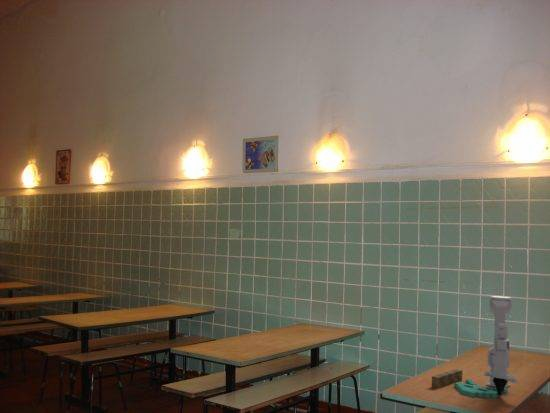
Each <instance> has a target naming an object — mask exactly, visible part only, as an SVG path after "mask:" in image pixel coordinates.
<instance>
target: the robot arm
mask: <svg viewBox="0 0 550 413" xmlns="http://www.w3.org/2000/svg"><path fill="white" fill-rule="evenodd" d="M511 311H512V297H511V296H501V295H499V296H498V295H490V296H489V312H491V313H492V314H493V316H494V331H493V332H494V334H493V335H494V336H493V337H494V338H493V346H492V347H490V348H489V349H488V351H487V365H488V366H489V371H488V370H486V371H483V372H484V373H483V374H484V375H483V376H484V377H489V382H487V383H486V384H485V385H486V386H489V387H492V388H496V389H497V394H498V395H499V397H501V396H503V394H504V393H503V390H504V388H507V387H510V386H511V384H510V383H509V382H511V383H514V384H517V383H518V378H517V377H513V376H511V375H510V374H509V370H508V368H509V367H510V353H509V352H510V339H509V331H508V330H509V328H508V326H507V325H506V315H507V314H509V313H510V312H511Z"/></svg>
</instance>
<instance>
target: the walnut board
mask: <svg viewBox="0 0 550 413" xmlns="http://www.w3.org/2000/svg"><path fill="white" fill-rule="evenodd" d="M461 381H463V369H460V368H456V369H451V370H450V371H445V372H442V373H438V374H435V375H432V376H431V388H434V389H440V388H443V387H446V386H449V385H451V384H454V383H457V382H461Z"/></svg>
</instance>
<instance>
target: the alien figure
mask: <svg viewBox="0 0 550 413" xmlns="http://www.w3.org/2000/svg"><path fill="white" fill-rule="evenodd" d="M453 384H454V388H455V390H457V391H458V393H459V394H461V395H464V396H468V397H472V398H475V397H478V398H487V399H489V398H492V399H497V398H499V397H500V396H499V395H498V394H497V389H496V387H493V386H489V387H486V386H481V385H479V384H477V383H476V382H475V381H473V379H469V378H467V379H465V383H464V382H461V381H458V382H455V383H453ZM508 393H509V389H508V388H507V387H505V388H504V390H503V394H508Z"/></svg>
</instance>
